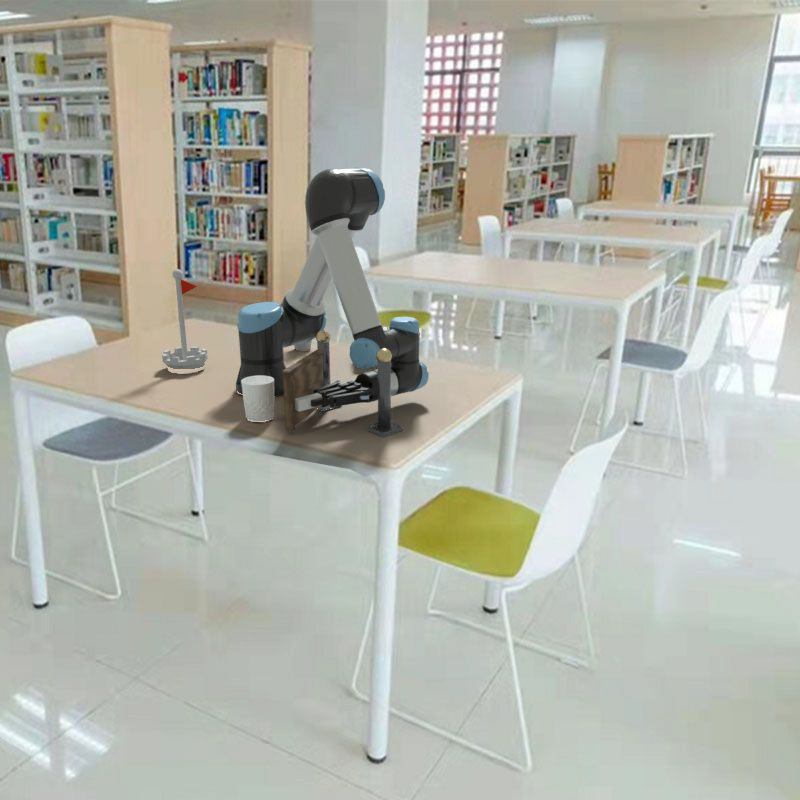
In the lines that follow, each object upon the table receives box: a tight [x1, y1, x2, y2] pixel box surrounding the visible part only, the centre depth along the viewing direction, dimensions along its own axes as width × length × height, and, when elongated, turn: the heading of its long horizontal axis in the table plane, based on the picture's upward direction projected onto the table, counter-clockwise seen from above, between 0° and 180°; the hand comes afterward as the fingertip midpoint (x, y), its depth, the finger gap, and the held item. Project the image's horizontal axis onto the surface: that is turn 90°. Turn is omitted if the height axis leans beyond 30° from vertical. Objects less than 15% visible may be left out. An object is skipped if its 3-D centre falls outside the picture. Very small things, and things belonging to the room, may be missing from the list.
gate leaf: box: [283, 349, 324, 432], centre depth 185 cm, size 20×2×14 cm, turn 163°
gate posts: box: [315, 329, 403, 438], centre depth 187 cm, size 30×6×20 cm, turn 41°
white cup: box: [241, 375, 275, 421], centre depth 188 cm, size 8×8×10 cm
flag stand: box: [161, 269, 209, 369], centre depth 226 cm, size 13×13×30 cm
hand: (296, 405), depth 177 cm, fingers closed
